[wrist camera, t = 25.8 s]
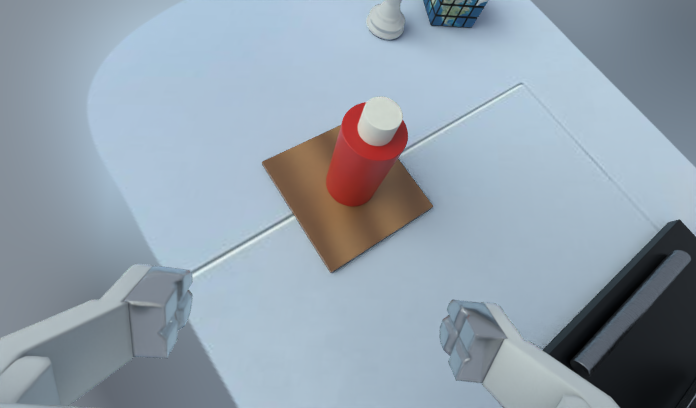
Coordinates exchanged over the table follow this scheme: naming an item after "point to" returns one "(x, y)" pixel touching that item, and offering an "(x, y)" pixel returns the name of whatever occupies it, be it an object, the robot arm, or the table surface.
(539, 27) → the table surface
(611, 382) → the oven
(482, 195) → the table surface
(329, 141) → the wooden square board
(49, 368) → the robot arm
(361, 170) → the ketchup bottle
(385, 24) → the chess piece
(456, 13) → the puzzle
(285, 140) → the table surface
